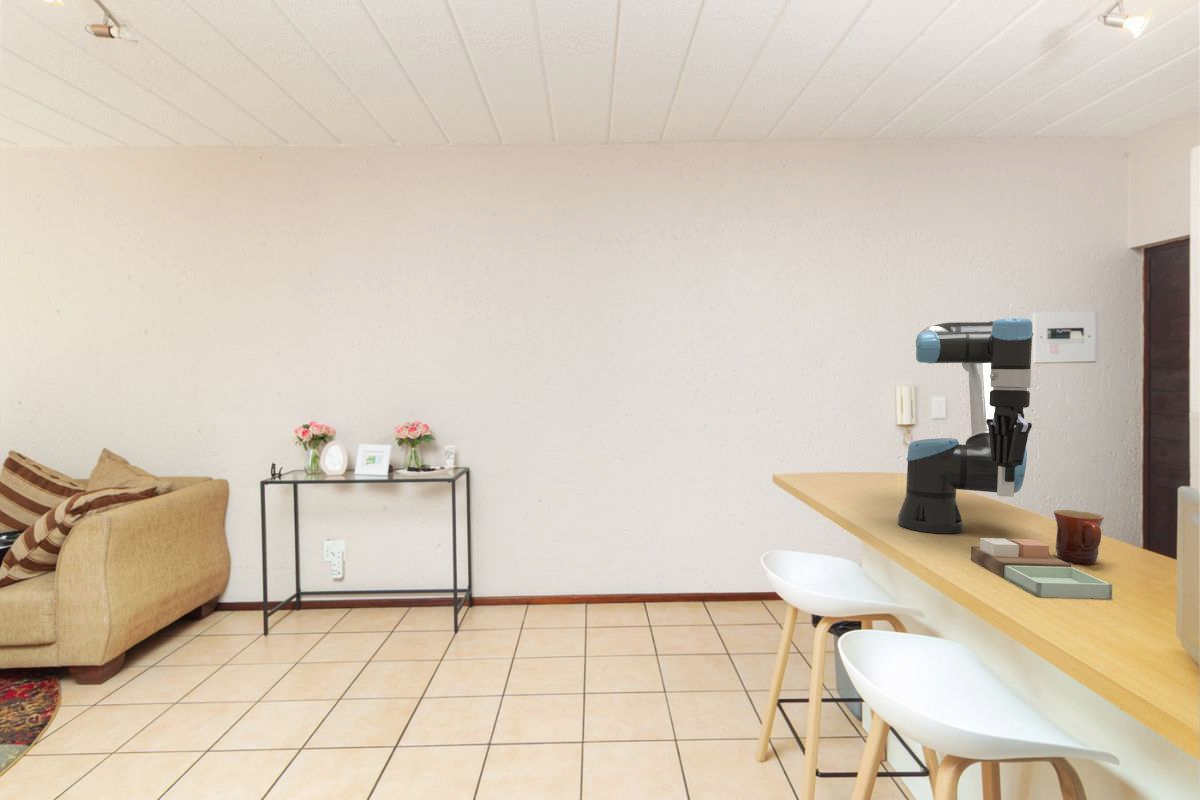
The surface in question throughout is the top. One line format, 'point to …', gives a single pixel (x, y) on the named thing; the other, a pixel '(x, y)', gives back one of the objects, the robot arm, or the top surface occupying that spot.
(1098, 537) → the mug
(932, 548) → the top surface
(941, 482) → the robot arm
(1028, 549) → the tile terracotta
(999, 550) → the tile white
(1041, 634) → the top surface
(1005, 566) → the tray
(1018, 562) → the board
